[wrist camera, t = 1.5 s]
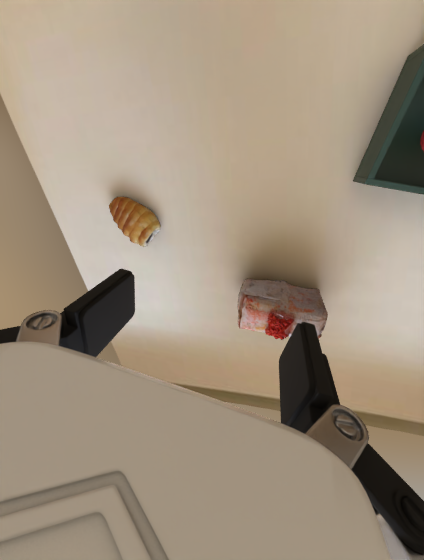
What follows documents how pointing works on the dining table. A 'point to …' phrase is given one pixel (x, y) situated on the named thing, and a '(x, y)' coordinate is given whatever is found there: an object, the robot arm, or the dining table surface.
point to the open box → (399, 134)
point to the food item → (279, 307)
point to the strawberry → (422, 141)
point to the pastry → (134, 220)
